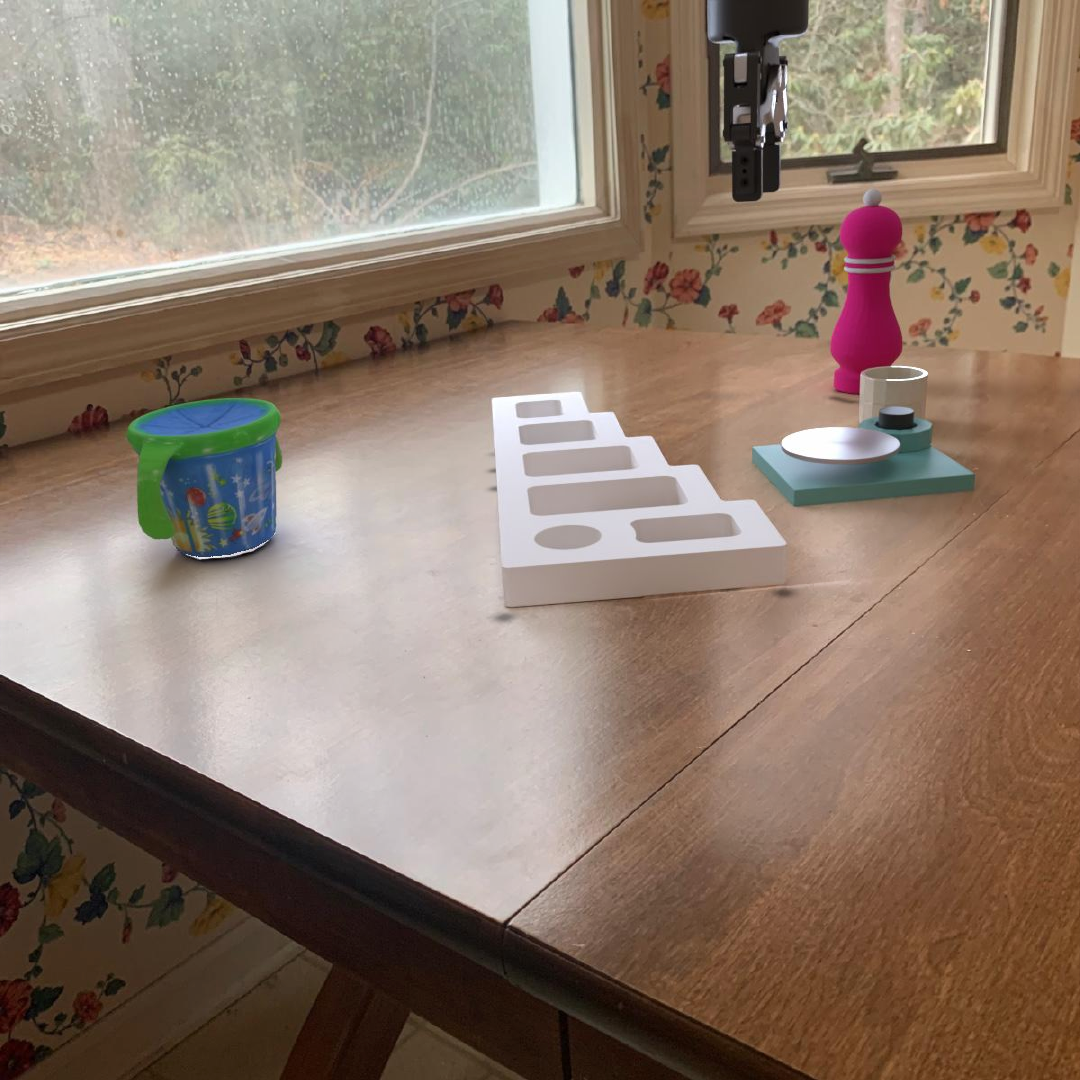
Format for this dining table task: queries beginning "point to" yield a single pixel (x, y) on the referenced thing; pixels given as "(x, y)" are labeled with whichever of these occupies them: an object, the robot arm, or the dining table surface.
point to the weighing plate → (840, 445)
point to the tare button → (896, 418)
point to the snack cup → (208, 474)
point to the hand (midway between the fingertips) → (757, 196)
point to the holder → (613, 512)
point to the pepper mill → (867, 294)
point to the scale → (867, 471)
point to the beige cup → (892, 390)
